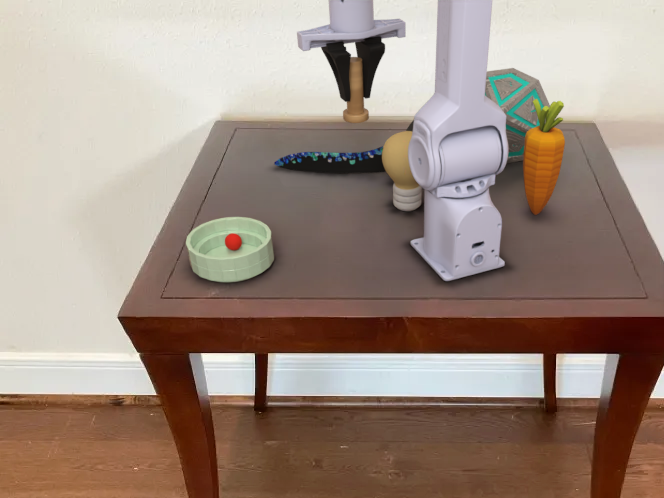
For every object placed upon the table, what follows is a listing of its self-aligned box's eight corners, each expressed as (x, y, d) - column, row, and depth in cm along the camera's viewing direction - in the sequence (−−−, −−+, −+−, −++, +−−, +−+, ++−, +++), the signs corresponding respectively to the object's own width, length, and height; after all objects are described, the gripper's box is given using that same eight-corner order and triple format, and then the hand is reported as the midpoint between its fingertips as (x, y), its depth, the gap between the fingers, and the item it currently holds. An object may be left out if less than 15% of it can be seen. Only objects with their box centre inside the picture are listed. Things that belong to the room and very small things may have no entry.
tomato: (245, 251, 87) (242, 236, 86) (228, 255, 86) (225, 240, 85) (240, 243, 88) (238, 228, 87) (224, 247, 88) (221, 232, 86)
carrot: (509, 209, 96) (521, 94, 86) (543, 203, 97) (557, 89, 88) (527, 226, 92) (541, 109, 83) (561, 220, 94) (579, 103, 84)
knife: (487, 176, 101) (486, 144, 98) (483, 185, 98) (482, 153, 96) (285, 173, 109) (279, 144, 106) (277, 182, 107) (270, 152, 104)
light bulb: (400, 223, 93) (399, 147, 87) (374, 203, 97) (371, 130, 91) (440, 210, 96) (443, 136, 90) (413, 191, 100) (414, 119, 94)
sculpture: (526, 175, 121) (519, 186, 93) (454, 137, 122) (426, 137, 94) (565, 100, 117) (571, 89, 89) (491, 61, 117) (472, 38, 89)
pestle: (372, 120, 102) (371, 61, 97) (348, 125, 101) (345, 65, 96) (363, 112, 105) (360, 54, 100) (339, 116, 104) (335, 57, 99)
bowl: (285, 273, 84) (281, 247, 82) (202, 293, 81) (196, 266, 79) (261, 235, 91) (257, 210, 89) (183, 253, 88) (178, 227, 85)
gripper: (389, -23, 98) (391, 81, 106) (285, -12, 93) (296, 96, 102) (412, -12, 93) (412, 96, 101) (303, 1, 88) (313, 113, 97)
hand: (355, 97), depth 101 cm, fingers closed on pestle, 2 cm apart
